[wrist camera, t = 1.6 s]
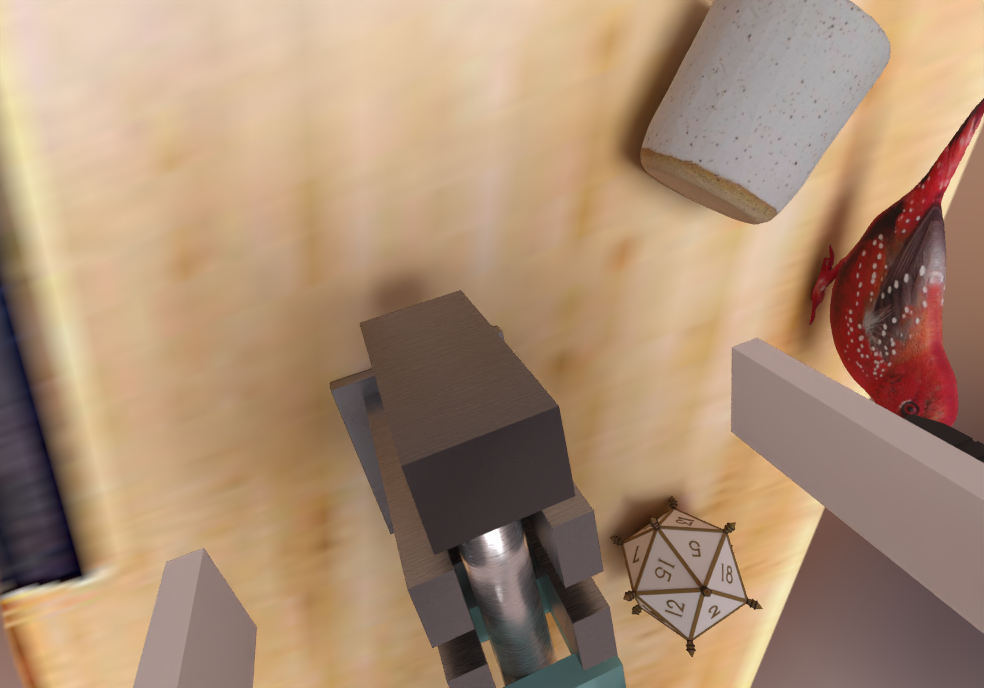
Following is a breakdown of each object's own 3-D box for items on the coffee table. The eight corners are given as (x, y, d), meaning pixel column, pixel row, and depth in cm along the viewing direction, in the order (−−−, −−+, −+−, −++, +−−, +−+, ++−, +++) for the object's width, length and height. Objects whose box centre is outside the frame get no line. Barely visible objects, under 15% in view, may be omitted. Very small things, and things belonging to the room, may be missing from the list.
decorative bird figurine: (772, 379, 38) (916, 465, 29) (847, 94, 30) (1069, 96, 22) (806, 374, 38) (955, 456, 30) (886, 96, 31) (1114, 97, 23)
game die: (643, 483, 43) (782, 539, 38) (606, 590, 42) (744, 662, 37) (615, 474, 36) (785, 543, 30) (569, 604, 34) (737, 697, 29)
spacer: (562, 582, 30) (628, 704, 24) (442, 636, 29) (481, 778, 23) (553, 545, 29) (622, 664, 23) (427, 599, 28) (465, 741, 22)
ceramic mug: (601, 156, 27) (703, 179, 21) (685, -15, 25) (828, -50, 19) (739, 235, 32) (857, 274, 26) (819, 96, 30) (970, 100, 23)
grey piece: (541, 605, 30) (628, 784, 22) (473, 636, 29) (538, 833, 22) (460, 290, 21) (558, 406, 13) (359, 323, 20) (401, 466, 13)
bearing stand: (529, 468, 34) (647, 655, 23) (388, 524, 32) (440, 757, 21) (497, 325, 29) (625, 473, 18) (329, 383, 27) (355, 585, 16)
